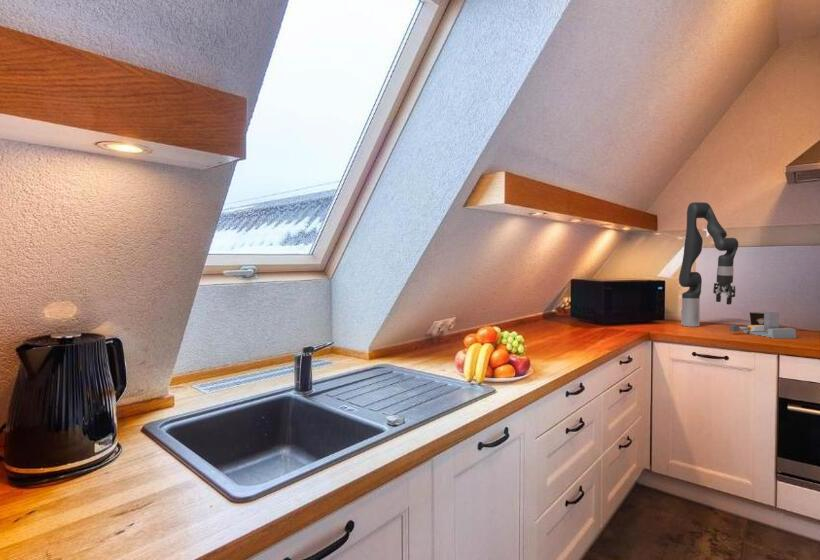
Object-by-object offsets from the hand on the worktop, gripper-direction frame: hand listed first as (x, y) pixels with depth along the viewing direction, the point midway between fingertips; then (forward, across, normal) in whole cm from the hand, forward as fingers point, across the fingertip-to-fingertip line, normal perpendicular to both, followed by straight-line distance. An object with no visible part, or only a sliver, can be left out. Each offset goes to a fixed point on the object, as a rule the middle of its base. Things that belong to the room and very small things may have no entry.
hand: (723, 303), depth 254 cm
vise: (+15, -14, -15) cm, 26 cm away
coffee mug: (+17, +4, -26) cm, 31 cm away
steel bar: (+14, -16, -15) cm, 26 cm away
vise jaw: (+14, -9, -10) cm, 19 cm away
